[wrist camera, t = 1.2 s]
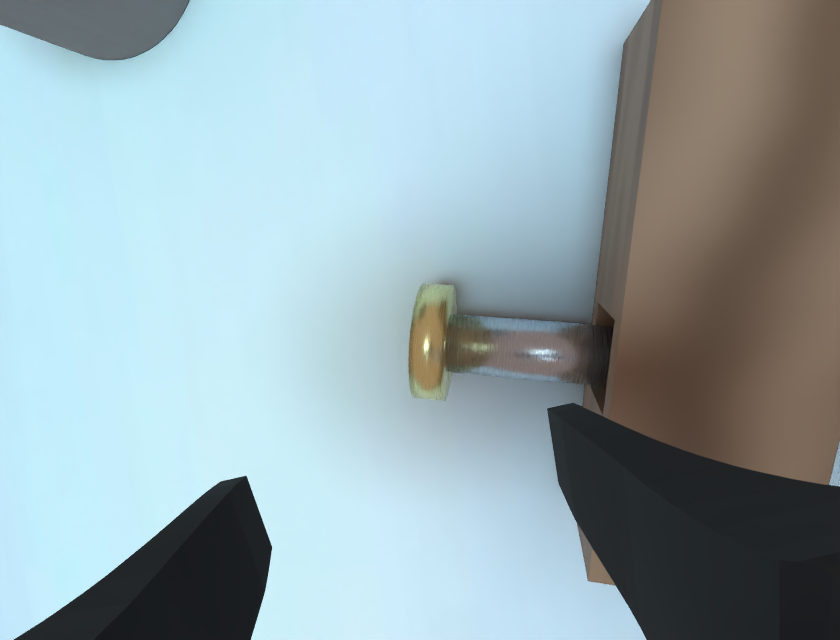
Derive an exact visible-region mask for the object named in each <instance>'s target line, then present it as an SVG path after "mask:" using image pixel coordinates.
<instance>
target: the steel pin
mask: <svg viewBox="0 0 840 640" xmlns="http://www.w3.org/2000/svg"><path fill="white" fill-rule="evenodd" d="M613 330H614V326H610V325H596V324H582V323H568V322H555V321H541V320H527V319H513V318H499V317H486V316H472V315H458V314H457V301H456V290H455V287H454V285H445V284H429V283H424V284H422V285H421V287H420V289H419V291H418V294H417V298H416V302H415V306H414V311H413V317H412V323H411V331H410V343H409V383H410V389H411V393H412V396H413V397H414V398H420V399H429V400H439V401H445V399H446V397H447V395H448V391H449V387H450V382H451V376H452V372H456V373H467V374H477V375H488V376H499V377H509V378H520V379H531V380H541V381H552V382H562V383H573V384H584V385H594V386H605V387H607V379H608V371H609V363H610V355H611V347H612V339H613Z"/></svg>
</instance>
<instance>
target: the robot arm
mask: <svg viewBox="0 0 840 640" xmlns="http://www.w3.org/2000/svg"><path fill="white" fill-rule="evenodd" d="M547 410H548V417H549V423H550V430H551V436H552V443H553V450H554V456H555V463H556V469H557V476H558V482H559V485H560V487H561V490H562V492H563V494H564V496H565V499H566V501H567V503H568V505H569V507H570V510H571V512H572V514H573V516H574V518H575V520H576V522H577V524H578V525H579V527H580V529H581V530H582V532H583V534H584V535H585V537H586V538H587V540H588V542H589V543H590V545H591V547H592V548H593V550H594V551H595V553H596V555H597V556H598V558H599V559H600V561H601V563H602V564H603V566H604V568H605V569H606V571H607V572H608V574H609V576H610V577H611V579H612V580H613V582H614V584H615V585H616V587H617V588H618V590H619V592H620V593H621V595H622V596H623V598H624V600H625V601H626V603H627V605H628V606H629V608H630V610H631V611H632V613H633V615H634V617H635V618H636V620H637V622H638V624H639V626H640V627H641V629H642V631H643V633H644V635H645V637H646V639H647V640H840V487H838V486H831V485H824V484H818V483H813V482H807V481H801V480H796V479H790V478H786V477H781V476H777V475H772V474H767V473H763V472H758V471H754V470H750V469H746V468H742V467H738V466H734V465H730V464H727V463H723V462H720V461H717V460H713V459H710V458H706V457H703V456H700V455H697V454H694V453H691V452H688V451H685V450H682V449H679V448H676V447H674V446H671V445H668V444H666V443H663V442H661V441H658V440H655V439H653V438H650V437H648V436H646V435H643V434H641V433H639V432H636V431H634V430H632V429H629V428H627V427H625V426H623V425H620V424H618V423H616V422H614V421H612V420H610V419H608V418H605V417H603V416H601V415H599V414H597V413H595V412H593V411H590V410H588V409H586V408H584V407H582V406H579V405H577V404H574V403H570V404H566V405H561V406H557V407H552V408H548V409H547ZM271 551H272V546H271V543H270V540H269V538H268V535H267V532H266V529H265V526H264V524H263V521H262V518H261V515H260V512H259V510H258V507H257V504H256V501H255V499H254V496H253V493H252V490H251V487H250V485H249V482H248V479H247V476H243V477H239V478H234V479H230V480H225V481H221V482H219V483H218V484H217V485H215V486H214V487H212V488H211V489H210V490H208V491H207V492H206V493H205V494H203V495H202V496H201V497H200V498H199V499H197V500H196V501H195V502H194V503H193V504H192V505H190V506H189V507H188V508H187V509H186V510H185V511H183V512H182V513H181V514H180V515H179V516H178V517H176V518H175V519H174V520H173V521H172V522H171V523H170V524H168V525H167V526H166V527H165V528H164V529H163V530H161V531H160V532H159V533H158V534H157V535H156V536H154V537H153V538H152V539H151V540H150V541H149V542H147V543H146V544H145V545H144V546H142V547H141V548H140V549H139V550H138V551H136V552H135V553H134V554H133V555H131V556H130V557H129V558H128V559H126V560H125V561H124V562H123V563H122V564H120V565H119V566H118V567H117V568H115V569H114V570H113V571H112V572H110V573H109V574H108V575H107V576H105V577H104V578H103V579H101V580H100V581H99V582H98V583H96V584H95V585H94V586H92V587H91V588H89V589H88V590H87V591H85V592H84V593H83V594H81V595H80V596H79V597H77V598H76V599H74V600H73V601H71V602H70V603H69V604H67V605H66V606H64V607H63V608H62V609H60V610H59V611H57V612H56V613H54V614H53V615H51V616H50V617H48V618H47V619H46V620H44V621H43V622H41V623H39V624H38V625H36V626H35V627H33V628H32V629H30V630H28V631H27V632H25V633H24V634H22V635H20V636H19V637H17V638H16V639H14V640H251V637H252V633H253V630H254V627H255V623H256V620H257V617H258V613H259V610H260V607H261V603H262V600H263V596H264V593H265V588H266V583H267V577H268V571H269V565H270V558H271Z"/></svg>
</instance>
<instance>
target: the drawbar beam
mask: <svg viewBox="0 0 840 640" xmlns="http://www.w3.org/2000/svg"><path fill="white" fill-rule="evenodd" d="M592 324H596V325H610V326H614V330H613V339H612V347H611V355H610V363H609V371H608V379H607V387H605V386H594V385H585V389H584V397H583V406H582V407H584V408H586V409H588V410H590V411H593V412H595V413H597V414H599V415H601V416H603V417H605V418H608V419H610V420H612V421H614V422H616V423H618V424H620V425H623V426H625V427H627V428H629V429H632V430H634V431H636V432H639V433H641V434H643V435H646V436H648V437H650V438H653V439H655V440H658V441H661V442H663V443H666V444H668V445H671V446H674V447H676V448H679V449H682V450H685V451H688V452H691V453H694V454H697V455H700V456H703V457H706V458H710V459H713V460H717V461H720V462H723V463H727V464H730V465H734V466H738V467H742V468H746V469H750V470H754V471H758V472H763V473H767V474H772V475H777V476H781V477H786V478H790V479H796V480H801V481H807V482H813V483H818V484H824V485H829V482H830V478H831V474H832V470H833V466H834V461H835V457H836V453H837V449H838V445H839V441H840V0H651V1H650V3H649V4H648V6H647V8H646V9H645V11H644V12H643V14H642V16H641V17H640V19H639V20H638V22H637V24H636V25H635V27H634V28H633V30H632V32H631V33H630V35H629V36H628V38H627V39H626V41H625V43H624V46H623V55H622V64H621V72H620V81H619V90H618V99H617V108H616V116H615V125H614V134H613V143H612V152H611V160H610V169H609V178H608V187H607V195H606V204H605V213H604V222H603V231H602V239H601V248H600V257H599V266H598V274H597V283H596V292H595V301H594V310H593V318H592ZM577 526H578V531H579V536H580V541H581V546H582V552H583V557H584V562H585V567H586V572H587V578H588V581H591V582H597V583H603V584H609V585H615V584H614V582H613V580H612V579H611V577H610V576H609V574H608V572H607V571H606V569H605V568H604V566H603V564H602V563H601V561H600V559H599V558H598V556H597V555H596V553H595V551H594V550H593V548H592V547H591V545H590V543H589V542H588V540H587V538H586V537H585V535H584V534H583V532H582V530H581V529H580V527H579V525H578V524H577Z"/></svg>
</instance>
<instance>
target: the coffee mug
mask: <svg viewBox="0 0 840 640" xmlns="http://www.w3.org/2000/svg"><path fill="white" fill-rule="evenodd" d="M188 1H189V0H0V25H3V26H6V27H8V28H11V29H14V30H17V31H19V32H22V33H25V34H28V35H30V36H33V37H36V38H39V39H41V40H44V41H47V42H50V43H52V44H55V45H58V46H61V47H63V48H66V49H69V50H72V51H74V52H77V53H80V54H83V55H85V56H89V57H92V58H95V59H102V60H120V59H126V58H131V57H134V56H137V55H139V54H141V53H143V52H145V51H147V50H149V49H151V48H152V47H154V46H155V45H156V44H158V43H159V42H160V41H161V40H162V39H163V38H164V37H165V36H166V35H167V34H168V33H169V32H170V31H171V30H172V29H173V28H174V26H175V25H176V24H177V22H178V21H179V19H180V17H181V15H182V14H183V12H184V10H185V8H186V6H187V4H188Z"/></svg>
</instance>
